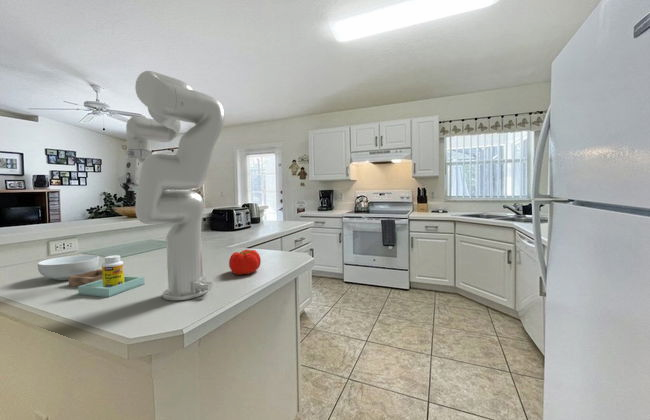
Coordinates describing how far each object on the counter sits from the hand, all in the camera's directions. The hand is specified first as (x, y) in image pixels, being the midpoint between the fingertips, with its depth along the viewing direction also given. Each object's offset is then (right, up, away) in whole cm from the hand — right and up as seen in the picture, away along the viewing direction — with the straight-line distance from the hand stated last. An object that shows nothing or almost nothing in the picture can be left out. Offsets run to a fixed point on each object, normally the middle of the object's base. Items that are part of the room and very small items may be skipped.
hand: (142, 201), depth 101 cm
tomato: (+38, -28, +3) cm, 47 cm away
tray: (0, -29, -14) cm, 32 cm away
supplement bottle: (0, -29, -14) cm, 32 cm away
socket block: (-13, -29, -6) cm, 32 cm away
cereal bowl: (-27, -29, +1) cm, 40 cm away
